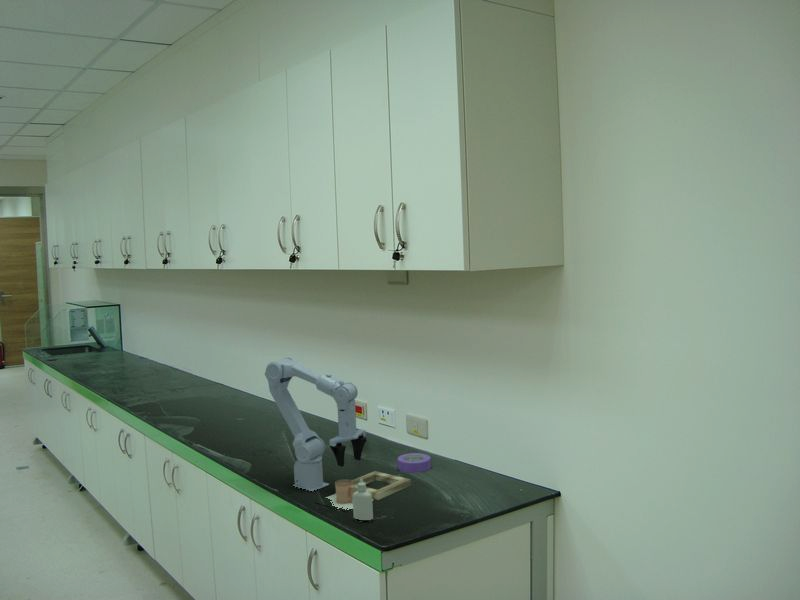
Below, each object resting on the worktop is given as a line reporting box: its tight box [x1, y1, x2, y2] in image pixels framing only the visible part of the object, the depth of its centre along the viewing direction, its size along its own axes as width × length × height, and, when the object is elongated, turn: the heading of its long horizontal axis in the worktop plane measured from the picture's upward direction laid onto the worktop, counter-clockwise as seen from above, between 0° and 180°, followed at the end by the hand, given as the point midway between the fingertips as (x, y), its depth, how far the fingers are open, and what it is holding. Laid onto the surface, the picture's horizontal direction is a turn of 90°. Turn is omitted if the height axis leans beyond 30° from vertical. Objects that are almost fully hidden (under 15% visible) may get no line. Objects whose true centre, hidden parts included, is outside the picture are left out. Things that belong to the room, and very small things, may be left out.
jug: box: [334, 478, 355, 504], centre depth 217 cm, size 5×7×6 cm
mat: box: [325, 493, 375, 510], centre depth 218 cm, size 14×12×1 cm
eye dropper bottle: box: [352, 479, 374, 521], centre depth 202 cm, size 4×6×12 cm
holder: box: [350, 470, 412, 501], centre depth 229 cm, size 16×16×2 cm
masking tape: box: [397, 452, 432, 474], centre depth 248 cm, size 12×12×4 cm
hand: (349, 462), depth 227 cm, fingers open, 7 cm apart
